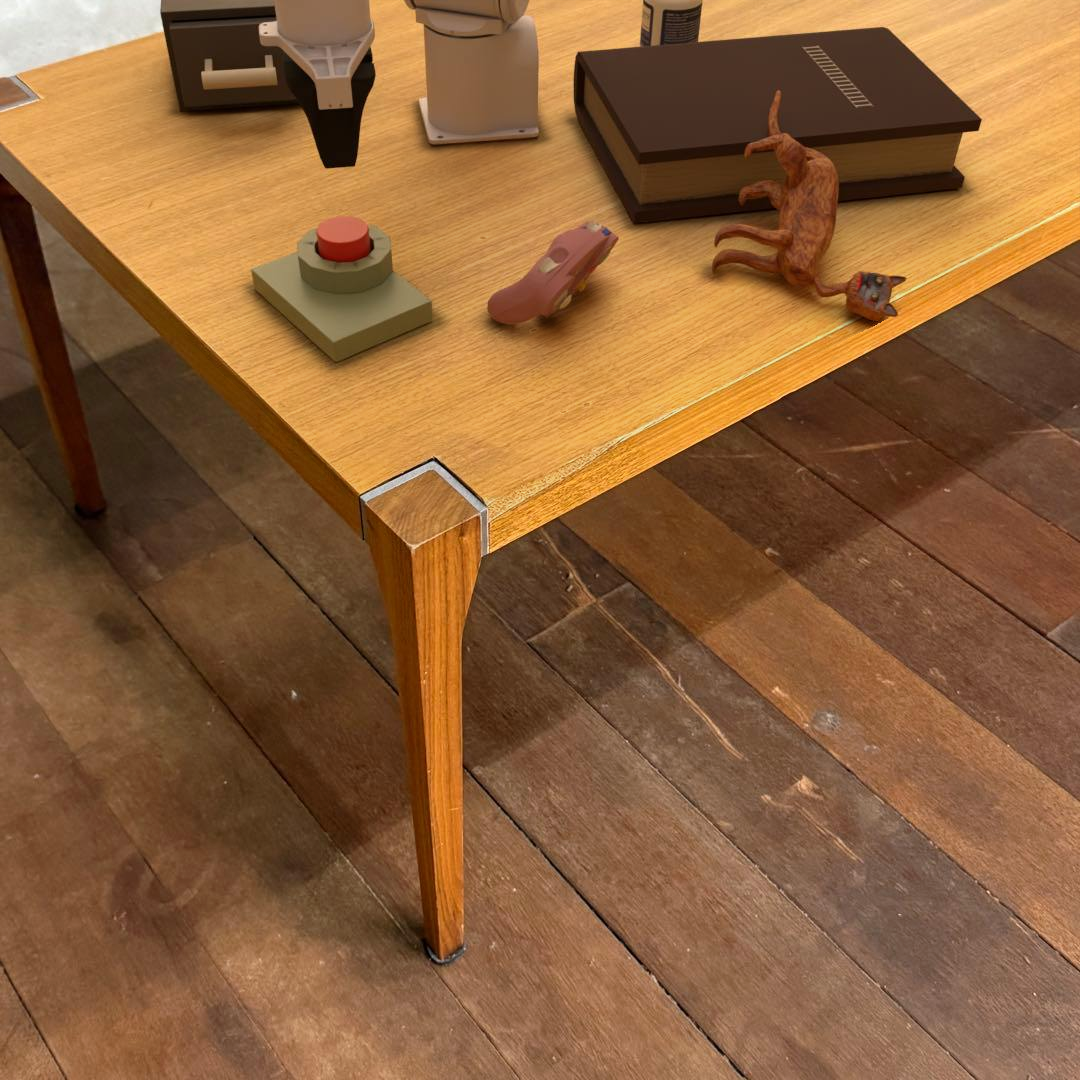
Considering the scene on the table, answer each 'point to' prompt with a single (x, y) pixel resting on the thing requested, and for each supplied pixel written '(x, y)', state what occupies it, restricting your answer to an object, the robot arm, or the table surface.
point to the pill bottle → (670, 22)
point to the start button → (343, 239)
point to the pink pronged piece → (554, 275)
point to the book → (766, 118)
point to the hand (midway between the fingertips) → (339, 162)
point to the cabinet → (210, 4)
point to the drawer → (227, 62)
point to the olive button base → (343, 296)
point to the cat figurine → (803, 225)
